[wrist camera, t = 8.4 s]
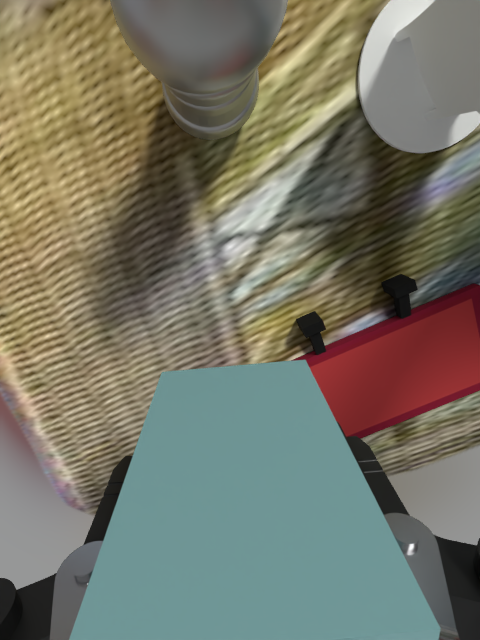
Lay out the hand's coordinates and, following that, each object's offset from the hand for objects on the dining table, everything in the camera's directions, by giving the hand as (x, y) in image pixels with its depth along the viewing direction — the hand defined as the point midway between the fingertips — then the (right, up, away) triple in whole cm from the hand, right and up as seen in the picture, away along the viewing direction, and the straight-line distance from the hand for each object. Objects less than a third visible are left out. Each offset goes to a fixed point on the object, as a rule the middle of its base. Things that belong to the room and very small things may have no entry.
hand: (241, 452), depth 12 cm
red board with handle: (+10, -1, +24) cm, 26 cm away
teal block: (0, +1, +1) cm, 1 cm away
